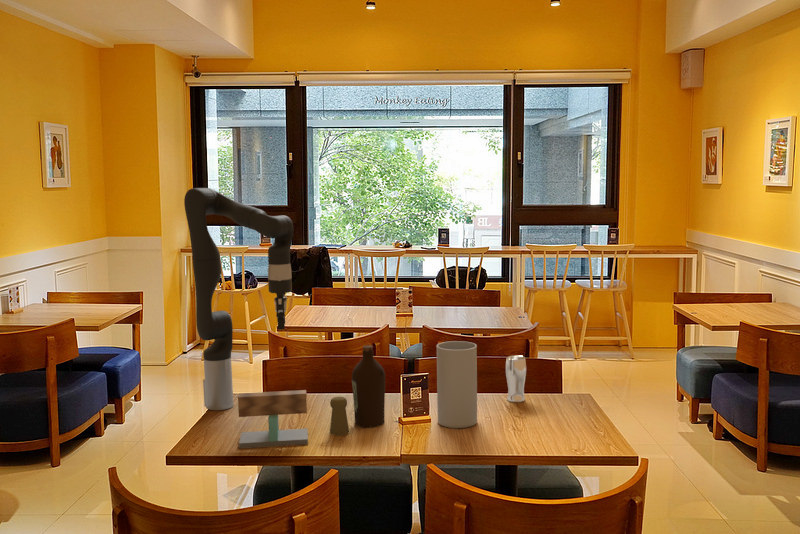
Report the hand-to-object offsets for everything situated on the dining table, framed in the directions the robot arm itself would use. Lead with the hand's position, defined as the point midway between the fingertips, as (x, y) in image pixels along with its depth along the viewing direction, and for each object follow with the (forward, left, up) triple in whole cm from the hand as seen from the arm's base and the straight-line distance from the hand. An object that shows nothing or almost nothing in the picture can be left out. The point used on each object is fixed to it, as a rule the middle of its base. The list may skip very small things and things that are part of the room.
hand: (281, 326), depth 258 cm
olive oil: (+28, +10, -30) cm, 42 cm away
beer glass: (+54, +58, -30) cm, 85 cm away
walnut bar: (+15, -19, -22) cm, 32 cm away
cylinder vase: (+51, +26, -30) cm, 65 cm away
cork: (+26, -2, -30) cm, 40 cm away
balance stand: (+15, -19, -30) cm, 38 cm away
